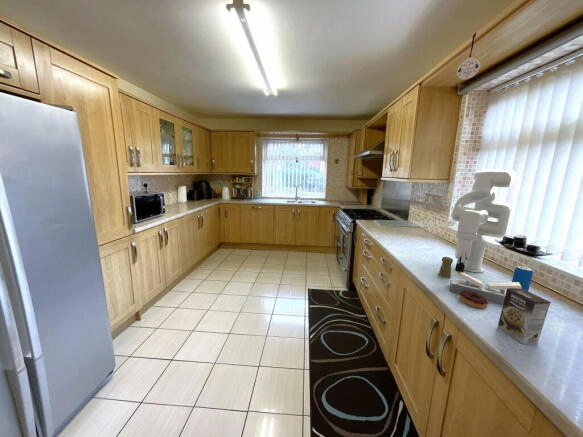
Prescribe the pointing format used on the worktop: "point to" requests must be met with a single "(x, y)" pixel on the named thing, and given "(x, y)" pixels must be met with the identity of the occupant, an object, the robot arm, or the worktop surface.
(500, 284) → the block
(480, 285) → the block
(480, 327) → the worktop surface
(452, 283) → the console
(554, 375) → the worktop surface
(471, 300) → the donut
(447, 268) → the cork
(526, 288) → the beverage can
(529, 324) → the coffee box
